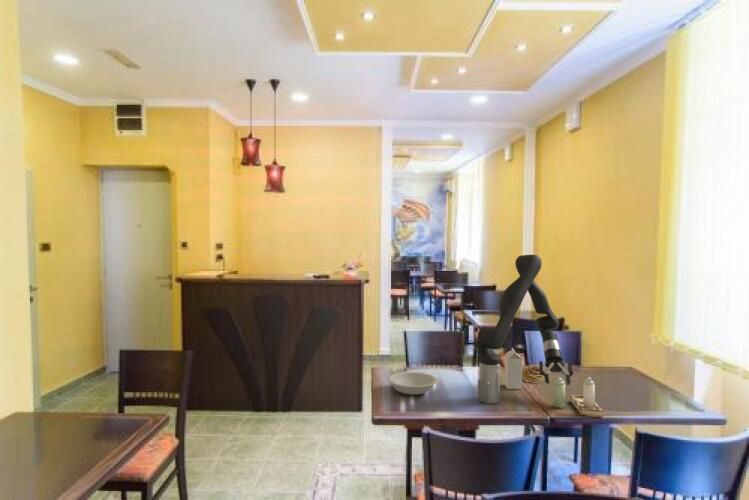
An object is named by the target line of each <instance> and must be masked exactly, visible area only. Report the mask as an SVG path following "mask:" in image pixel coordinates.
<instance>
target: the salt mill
mask: <svg viewBox="0 0 749 500" xmlns="http://www.w3.org/2000/svg"><path fill="white" fill-rule="evenodd" d="M582 388H583V389H582V390H583V392H582V395H583V407H584V408H589V409H595V402H596V401H595V400H596V395H595V394H596V392H595V391H596V385H595V381H594V380H592V377H590V376H587V377H586V379H584V382H583V385H582Z"/></svg>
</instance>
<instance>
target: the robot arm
mask: <svg viewBox="0 0 749 500" xmlns="http://www.w3.org/2000/svg"><path fill="white" fill-rule="evenodd" d="M514 264H515V268H516V271H517V273H518V275H519V277H517V278H516V279H515V280H514V281H513V282H512V283H511V284H509V285H508V286H507V287H506V288H505V290H504V291H503V292H502V295H501V297H500V299H499V303H498V310H499V319H498V322H497V324H496V325H495V327H489V326H482V327H480V328H479V330H478V332H477V337H476V338H477V339H476V344H477V345H476V346H477V347H476V348H477V356H478V359H479V363H478V364H479V366H478V367H479V368H478V369H479V372H478V374H479V375H478V377H479V378H478V380H477V401H478V402H482V403H484V404H486V405H490V404H494V405H495V404H498V403H500V402H501V358H500V356H499V355H498V354H497V353H496V352H495V351H494V350H499V349H501V348H502V347H503V345H504V344H505V342H506V339H507V336H508V333H509V331H510V327H511V326H512V323H513V321H514V318H515V316H516V315H517V312H518V311H519V309H520V307H521V305H522V303H523V301H524V299H525V297H526V294H527V293H528V294H529V296H530V300H531V302H532V305H533V308H534V311H535V312H536V314H539V315H545V316H539V317H537V318H536V320H535V326H536V327H537V329H538V331H539V333H540V335H541V339H542V348H543V354H544V360H545V362H544V361H541V360H540V361H539V362H538V366H539V373H540V375H543V376H544V378H545V381H544V382H545V383H546V385H549V384H550V379H549V374H550V373H558V374H559V373H561V375H564V377H565V382H566V383H565V384H566V386H569V385H570V384H571V382H572V381H571V378H572V377H573V375H574V370H573V365H572V363H571V362H564V359H563V355H562V351H561V350H562V349H561V345H560V342H559V338H558V334H557V332H556V331H554V330H557V329H558V328H559V326H560V322H559V319H558V317H557V316H556V314H555V313H554V312H553V310H552V308H551V307H550V303H549V300H548V297H547V295H546V294H545V291H544V290H543V289H542V288H541V287H540V285H538V283H537V282H536V281H535V279H536V277H537V276H538V274H539V272H540V271H541V268H542V265H543V263H542V258H541V257H540V256H539V254H538V255H537V254H523V255H519V256H517V258H516V259H515V263H514ZM544 366H545V367H546V368H547V369H546V370H544V368H545V367H544Z"/></svg>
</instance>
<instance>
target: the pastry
mask: <svg viewBox="0 0 749 500" xmlns="http://www.w3.org/2000/svg"><path fill="white" fill-rule="evenodd" d="M522 378H523V379H525V380H528V381H532V382H543V383H544V381H543V380H545V378H544V376H543V375H540V373H539V365H529V366H526V367H524V368H522Z"/></svg>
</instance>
